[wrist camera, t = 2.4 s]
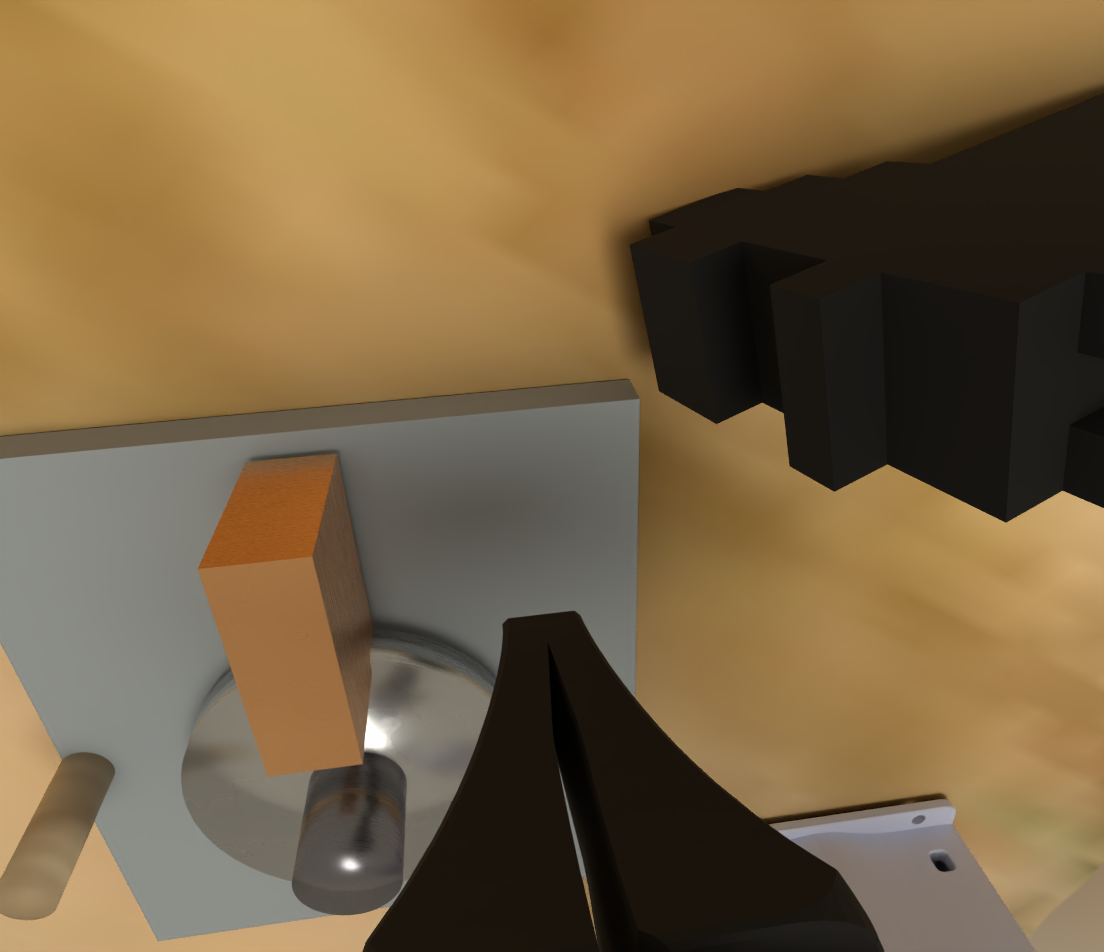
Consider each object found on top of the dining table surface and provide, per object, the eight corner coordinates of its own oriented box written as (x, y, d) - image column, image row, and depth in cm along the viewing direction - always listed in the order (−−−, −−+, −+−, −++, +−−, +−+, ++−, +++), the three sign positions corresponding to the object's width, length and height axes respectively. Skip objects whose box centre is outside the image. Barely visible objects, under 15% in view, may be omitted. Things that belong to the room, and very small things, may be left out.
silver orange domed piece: (527, 828, 25) (542, 956, 21) (238, 869, 24) (204, 1010, 20) (492, 438, 18) (505, 535, 14) (81, 478, 17) (-12, 591, 13)
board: (628, 379, 19) (640, 398, 18) (625, 839, 28) (632, 870, 27) (-61, 442, 18) (-93, 467, 17) (168, 906, 27) (157, 941, 26)
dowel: (105, 749, 21) (44, 879, 18) (122, 783, 22) (66, 914, 19) (52, 755, 21) (-20, 889, 18) (70, 789, 22) (4, 923, 18)
